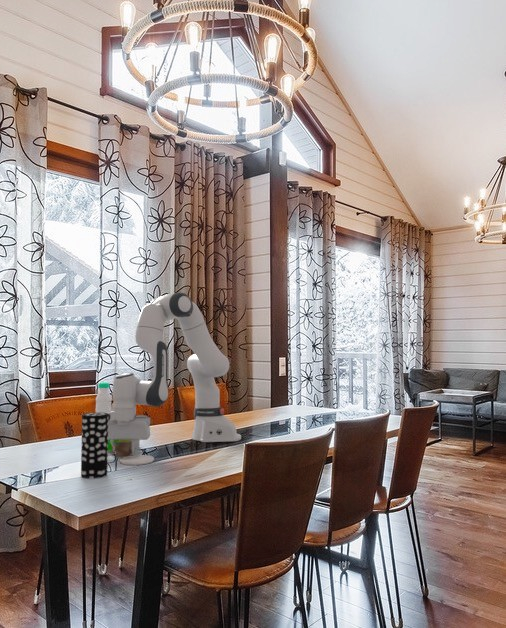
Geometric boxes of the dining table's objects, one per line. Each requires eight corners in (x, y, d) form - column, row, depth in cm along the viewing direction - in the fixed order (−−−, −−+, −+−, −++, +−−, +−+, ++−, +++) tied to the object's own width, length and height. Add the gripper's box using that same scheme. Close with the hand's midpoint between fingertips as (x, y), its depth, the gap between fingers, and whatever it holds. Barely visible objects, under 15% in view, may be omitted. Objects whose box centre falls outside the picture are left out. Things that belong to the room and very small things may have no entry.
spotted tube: (84, 472, 175) (85, 412, 176) (109, 471, 176) (110, 412, 177) (78, 478, 167) (79, 416, 168) (104, 478, 167) (105, 415, 169)
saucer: (157, 458, 197) (157, 455, 197) (149, 465, 185) (149, 462, 185) (125, 457, 197) (125, 455, 197) (116, 465, 185) (116, 462, 185)
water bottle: (113, 436, 241) (114, 382, 242) (107, 439, 234) (108, 383, 235) (98, 436, 242) (99, 382, 243) (92, 438, 235) (93, 383, 236)
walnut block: (131, 454, 204) (131, 441, 204) (128, 456, 199) (128, 443, 199) (119, 453, 204) (119, 441, 204) (115, 456, 199) (115, 443, 199)
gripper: (152, 414, 205) (152, 449, 204) (101, 413, 206) (100, 449, 205) (148, 416, 198) (148, 453, 198) (95, 416, 199) (95, 452, 199)
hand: (123, 451), depth 201 cm, fingers closed on walnut block, 5 cm apart
